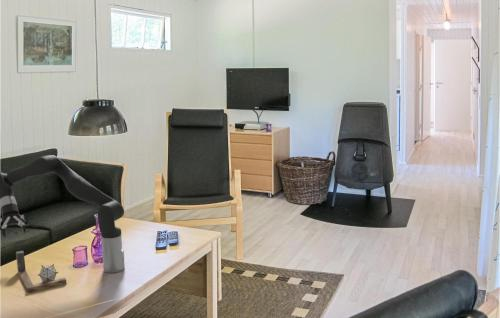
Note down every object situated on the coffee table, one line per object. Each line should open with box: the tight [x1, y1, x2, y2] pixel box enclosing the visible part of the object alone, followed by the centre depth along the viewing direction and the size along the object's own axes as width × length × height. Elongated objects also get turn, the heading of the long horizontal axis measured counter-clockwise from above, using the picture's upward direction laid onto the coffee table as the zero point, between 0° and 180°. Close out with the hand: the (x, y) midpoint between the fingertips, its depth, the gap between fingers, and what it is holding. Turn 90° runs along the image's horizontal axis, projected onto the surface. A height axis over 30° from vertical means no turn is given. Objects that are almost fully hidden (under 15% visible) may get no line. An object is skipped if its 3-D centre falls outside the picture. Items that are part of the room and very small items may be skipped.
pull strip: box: [15, 250, 67, 294], centre depth 225 cm, size 16×26×10 cm, turn 34°
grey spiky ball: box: [37, 263, 59, 283], centre depth 222 cm, size 9×8×10 cm
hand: (14, 234), depth 239 cm, fingers open, 8 cm apart
